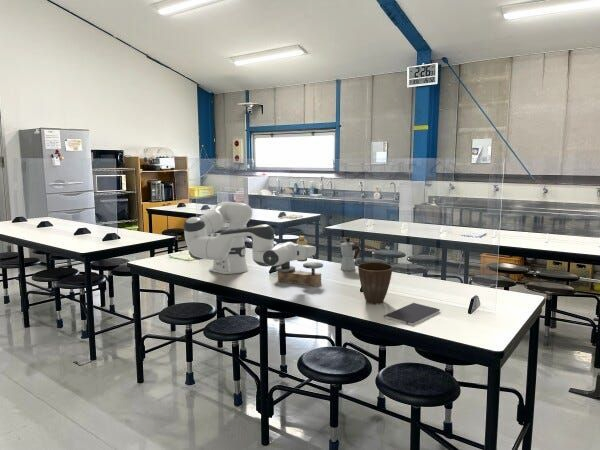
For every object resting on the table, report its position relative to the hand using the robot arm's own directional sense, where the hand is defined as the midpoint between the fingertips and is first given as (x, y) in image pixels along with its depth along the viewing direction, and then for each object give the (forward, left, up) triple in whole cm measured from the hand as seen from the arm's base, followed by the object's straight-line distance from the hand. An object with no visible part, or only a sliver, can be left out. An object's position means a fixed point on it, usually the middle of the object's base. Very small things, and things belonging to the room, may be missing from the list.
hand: (302, 246), depth 225 cm
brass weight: (0, -1, -7) cm, 7 cm away
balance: (-5, +4, -20) cm, 21 cm away
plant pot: (+40, -9, -20) cm, 46 cm away
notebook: (+59, -17, -21) cm, 65 cm away
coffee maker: (+8, +39, -20) cm, 45 cm away
